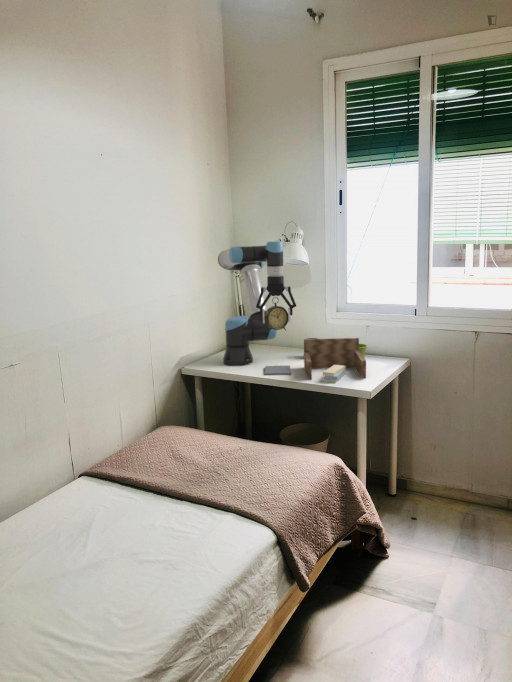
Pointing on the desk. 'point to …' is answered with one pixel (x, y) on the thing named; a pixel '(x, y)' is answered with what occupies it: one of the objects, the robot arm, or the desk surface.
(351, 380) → the desk surface
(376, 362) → the desk surface
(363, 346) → the plant pot
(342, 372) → the book stack
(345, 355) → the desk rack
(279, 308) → the alarm clock
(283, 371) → the mat
